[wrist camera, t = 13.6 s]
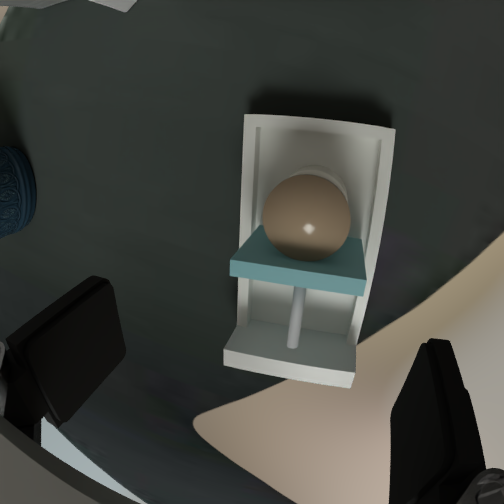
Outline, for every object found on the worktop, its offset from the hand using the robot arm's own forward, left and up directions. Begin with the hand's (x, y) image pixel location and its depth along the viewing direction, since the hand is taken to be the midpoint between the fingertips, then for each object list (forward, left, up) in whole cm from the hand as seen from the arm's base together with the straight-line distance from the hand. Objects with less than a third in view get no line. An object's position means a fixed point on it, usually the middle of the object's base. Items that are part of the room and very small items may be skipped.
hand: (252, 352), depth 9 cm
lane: (0, +4, -21) cm, 21 cm away
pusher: (0, +7, -20) cm, 21 cm away
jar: (0, 0, -21) cm, 21 cm away
